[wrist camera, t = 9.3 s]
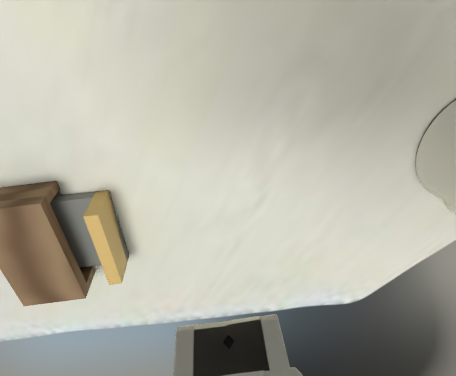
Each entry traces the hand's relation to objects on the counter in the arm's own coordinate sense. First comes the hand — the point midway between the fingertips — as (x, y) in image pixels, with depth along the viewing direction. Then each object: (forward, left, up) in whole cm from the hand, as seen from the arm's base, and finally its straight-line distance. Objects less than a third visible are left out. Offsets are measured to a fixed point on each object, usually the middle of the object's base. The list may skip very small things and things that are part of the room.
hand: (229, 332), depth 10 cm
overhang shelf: (+22, +15, -27) cm, 38 cm away
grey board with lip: (+18, +15, -27) cm, 36 cm away
